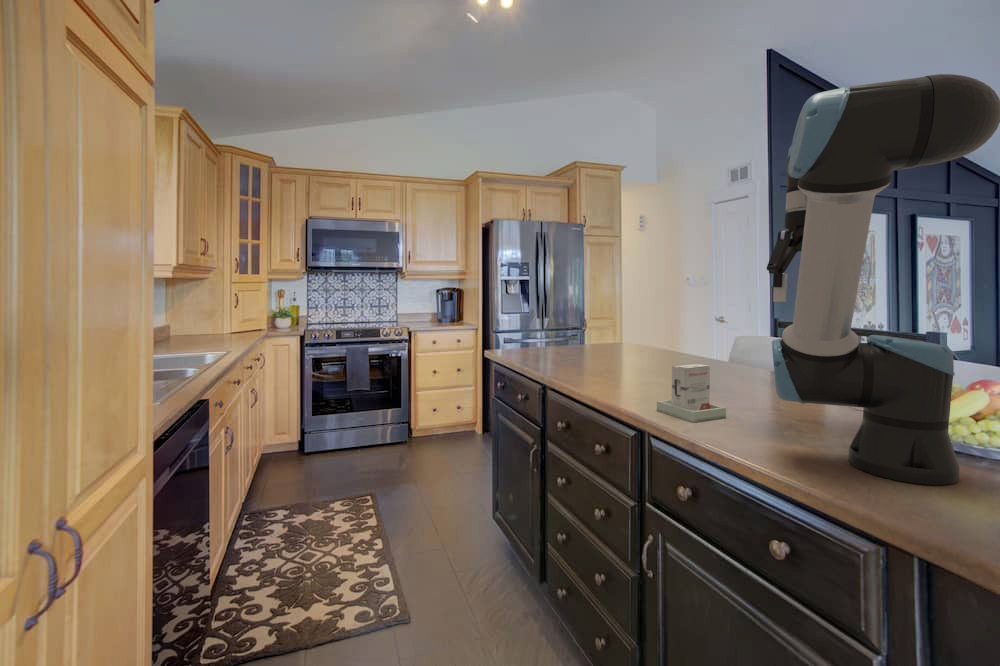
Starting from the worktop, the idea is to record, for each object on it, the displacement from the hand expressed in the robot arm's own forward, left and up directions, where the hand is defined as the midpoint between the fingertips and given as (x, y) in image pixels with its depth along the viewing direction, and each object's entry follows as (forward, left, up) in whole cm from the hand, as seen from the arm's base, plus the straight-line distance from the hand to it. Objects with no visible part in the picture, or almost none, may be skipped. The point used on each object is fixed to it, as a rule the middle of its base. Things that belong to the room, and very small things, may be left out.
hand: (798, 301), depth 117 cm
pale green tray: (+14, +19, -29) cm, 37 cm away
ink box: (+14, +19, -28) cm, 37 cm away
